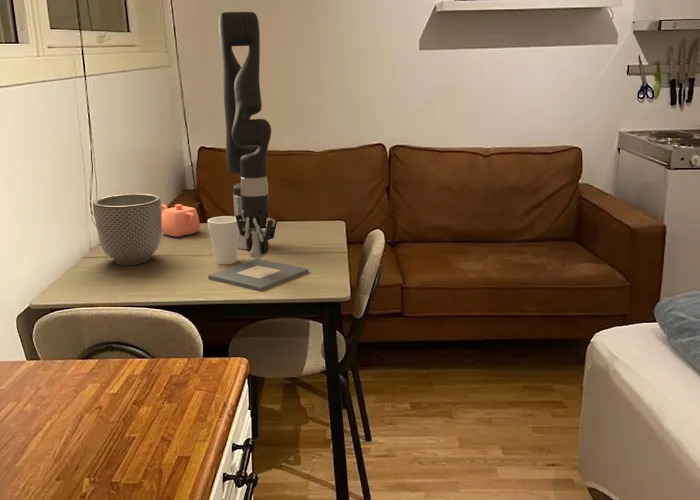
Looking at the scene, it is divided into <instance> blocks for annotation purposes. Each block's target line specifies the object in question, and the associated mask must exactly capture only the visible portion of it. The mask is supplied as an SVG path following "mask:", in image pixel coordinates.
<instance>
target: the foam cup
mask: <svg viewBox="0 0 700 500" xmlns="http://www.w3.org/2000/svg"><path fill="white" fill-rule="evenodd" d="M207 229H208V231H209V236H210V240H211V245H212V246H211V247H212V250H213V254H214V260H215V263H216V264H218V265H232V264H235V263H237V261H238V253H239V251H238V250H239V248H238V239H239V228H238V225H237V221H236V217H234V215H233V216H232V215H228V216H227V215H225V216H224V215H223V216H221V215H220V216H215V217H211V218H209V219H207Z"/></svg>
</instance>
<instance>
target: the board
mask: <svg viewBox="0 0 700 500" xmlns="http://www.w3.org/2000/svg"><path fill="white" fill-rule="evenodd" d="M308 273H309V268H306V267H302V266H301V267H300V266H296V265H291V264H286V263H280V262H276V261H271V260H266V259H263V258H258V259H256V258H253V259H251V260H248V261H246V262H243V263H239V264H236V265H234V266H231V267H228V268H224V269H221V270H220V271H216V272H213V273H211V274H208V277H207V278H209V279H208V280H212V279H213V280H212V281H218V282H222V283H225V284H231V285H233V286H234V285H235V286H239V287H242V288H245V289H250V290H253V291H254V290H255V291H259V292H263V291H265V290H268V289H270V288H272V287H275V286H278V285H280V284H282V283H285V282H287V281H290V280H292V279H295V278H297V277H300V276H303V275H305V274H308Z"/></svg>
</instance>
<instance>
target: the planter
mask: <svg viewBox="0 0 700 500" xmlns="http://www.w3.org/2000/svg"><path fill="white" fill-rule="evenodd" d="M161 204H162V200H161V197H160V196H159V195H157V194H152V193H120V194H114V195H107V196H104V197H99V198H97V199H95V200H94V201H93V202H92V210H93V216H94V221H95V227H96V231H97V236H98V241H99V243H100V246H101V248H102V250H103V251H104V253H105V254H106V255H107V256H108V257H109V258H111V259H112V260H113V261H114V262H115V263H116V264H117V265H121V266H135V265H140V264H145V263H147V262H149V261H150V260H151V259H152V255H154V254H155V252H156V251H157V250H158V249H159V247H160V245H161V240H162V216H161V215H162V205H161Z"/></svg>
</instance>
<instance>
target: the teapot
mask: <svg viewBox="0 0 700 500" xmlns="http://www.w3.org/2000/svg"><path fill="white" fill-rule="evenodd" d="M161 208H162V210H161V216H162V232H161V234H164V235H167V236H171V237H178V238H181V237H183V236H189V235H193V234H194V233H197V232H199V231H200V228H201V225H200V218H199V214H198V212H197V209H196V208H195V207H190V206H186V205H183V204H180V203H178V204H175V205H174V207H170V208H168V205H166V204H163V203H161Z"/></svg>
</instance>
